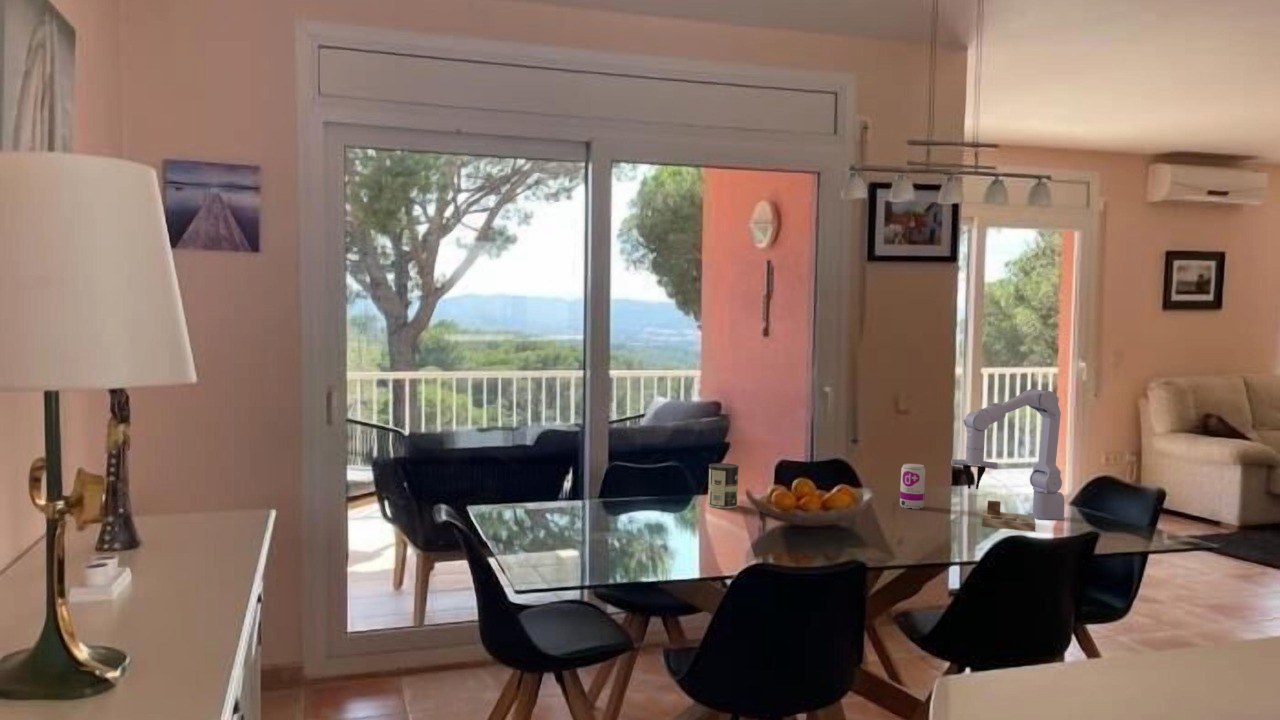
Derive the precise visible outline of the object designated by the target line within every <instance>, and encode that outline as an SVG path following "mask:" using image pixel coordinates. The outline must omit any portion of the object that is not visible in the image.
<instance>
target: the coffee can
mask: <svg viewBox="0 0 1280 720" xmlns="http://www.w3.org/2000/svg"><path fill="white" fill-rule="evenodd" d="M738 483H739V465H737V464H736V463H735V464H734V463H728V462H717V463H716V462H715V463H709V464H708V490H707V491H708V492H707V493H708V494H707V495H708V499H707V506H708V507H710V508H714V509H722V510H723V509H724V510H725V509H726V510H727V509H728V510H729V509H735V508H737V507H738V485H739V484H738Z"/></svg>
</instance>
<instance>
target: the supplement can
mask: <svg viewBox="0 0 1280 720" xmlns="http://www.w3.org/2000/svg"><path fill="white" fill-rule="evenodd" d="M926 471H927V470H926V467H925V465H924V464H921V463H903V465H902V467H901V471H900V486H899V487H900V488H899V489H900V491H899V505H900V507H901V508H903V507H904V508H903V509H907V508H912V509H911V510H920V509H919V508H921V509H923V508H924V507H925V494H926V492H925V489H926V488H925V487H926V473H927V472H926Z"/></svg>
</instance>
